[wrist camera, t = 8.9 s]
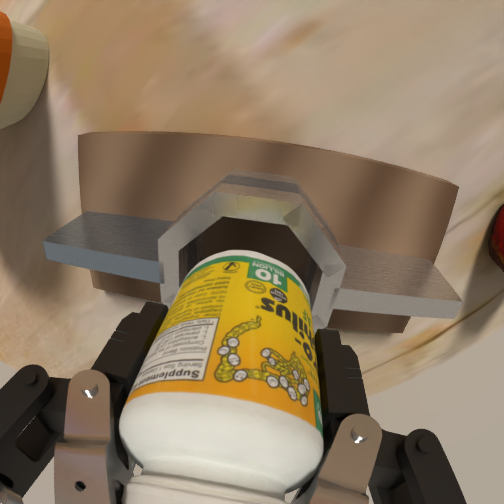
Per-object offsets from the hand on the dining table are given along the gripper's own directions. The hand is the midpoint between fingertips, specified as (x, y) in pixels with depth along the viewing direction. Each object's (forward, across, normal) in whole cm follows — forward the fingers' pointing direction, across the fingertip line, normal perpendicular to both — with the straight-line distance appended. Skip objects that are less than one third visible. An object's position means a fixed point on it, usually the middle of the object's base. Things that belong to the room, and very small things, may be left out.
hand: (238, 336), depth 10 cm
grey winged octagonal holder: (+8, 0, 0) cm, 8 cm away
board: (+10, 0, 0) cm, 10 cm away
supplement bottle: (+2, 0, 0) cm, 2 cm away
